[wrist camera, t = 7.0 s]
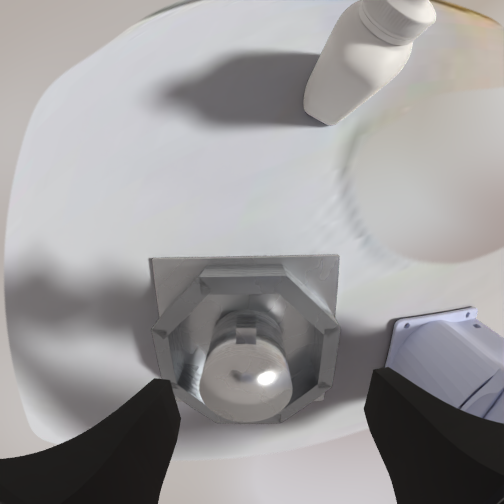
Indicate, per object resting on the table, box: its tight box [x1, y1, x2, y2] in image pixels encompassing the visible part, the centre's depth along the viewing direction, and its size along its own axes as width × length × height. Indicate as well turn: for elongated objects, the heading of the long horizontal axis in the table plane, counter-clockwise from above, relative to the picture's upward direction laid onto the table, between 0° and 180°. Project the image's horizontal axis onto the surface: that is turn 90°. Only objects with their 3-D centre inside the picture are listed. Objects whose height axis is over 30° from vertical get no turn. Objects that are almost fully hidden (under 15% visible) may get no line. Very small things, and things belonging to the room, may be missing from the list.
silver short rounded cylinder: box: [199, 309, 293, 422], centre depth 15 cm, size 6×5×6 cm
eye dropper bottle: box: [303, 0, 436, 126], centre depth 9 cm, size 4×6×12 cm
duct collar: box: [151, 255, 341, 424], centre depth 17 cm, size 12×12×3 cm
